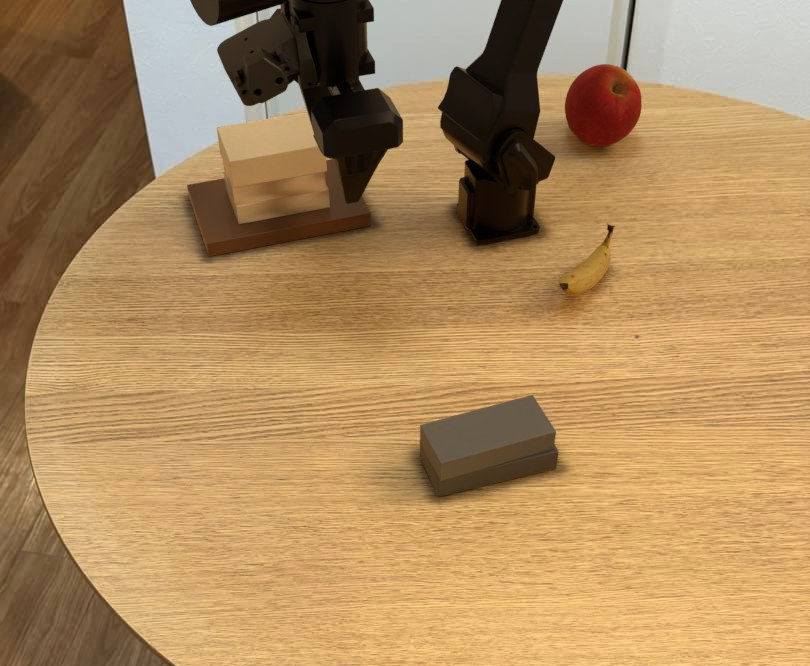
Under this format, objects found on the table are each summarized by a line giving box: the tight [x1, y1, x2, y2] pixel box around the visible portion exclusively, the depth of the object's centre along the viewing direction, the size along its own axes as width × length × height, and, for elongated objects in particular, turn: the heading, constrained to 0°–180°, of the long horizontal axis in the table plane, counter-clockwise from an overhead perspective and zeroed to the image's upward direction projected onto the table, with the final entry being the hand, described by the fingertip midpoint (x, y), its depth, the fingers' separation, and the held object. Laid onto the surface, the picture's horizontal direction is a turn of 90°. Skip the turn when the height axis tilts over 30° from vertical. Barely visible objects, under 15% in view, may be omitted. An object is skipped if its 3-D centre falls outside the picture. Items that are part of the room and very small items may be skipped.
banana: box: [557, 223, 615, 296], centre depth 105 cm, size 10×2×4 cm, turn 149°
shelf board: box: [186, 158, 372, 257], centre depth 112 cm, size 16×10×6 cm, turn 108°
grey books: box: [419, 394, 559, 498], centre depth 91 cm, size 10×5×4 cm, turn 107°
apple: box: [564, 63, 642, 147], centre depth 119 cm, size 8×8×8 cm
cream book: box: [216, 111, 327, 188], centre depth 108 cm, size 9×6×3 cm, turn 107°
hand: (337, 171), depth 97 cm, fingers open, 9 cm apart
